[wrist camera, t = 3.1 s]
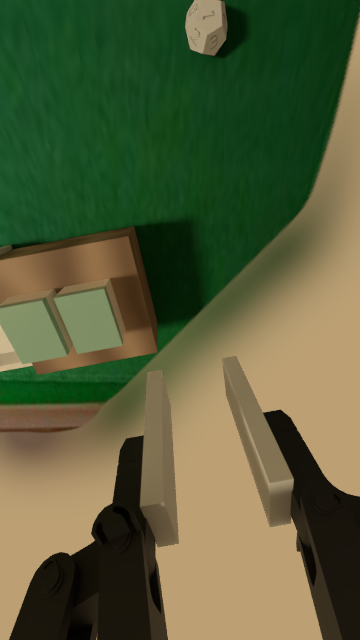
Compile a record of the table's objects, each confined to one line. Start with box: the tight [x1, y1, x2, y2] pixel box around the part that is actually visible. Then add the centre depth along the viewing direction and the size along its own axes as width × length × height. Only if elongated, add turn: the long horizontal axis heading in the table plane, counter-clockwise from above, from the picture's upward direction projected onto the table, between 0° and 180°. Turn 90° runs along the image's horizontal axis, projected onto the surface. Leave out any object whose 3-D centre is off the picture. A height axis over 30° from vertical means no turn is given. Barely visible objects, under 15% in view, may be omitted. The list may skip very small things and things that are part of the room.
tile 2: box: [53, 278, 126, 354], centre depth 25 cm, size 4×6×3 cm
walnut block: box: [0, 226, 158, 375], centre depth 29 cm, size 14×13×7 cm
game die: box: [185, 0, 227, 55], centre depth 22 cm, size 4×4×3 cm
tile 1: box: [0, 289, 73, 364], centre depth 25 cm, size 4×6×3 cm
